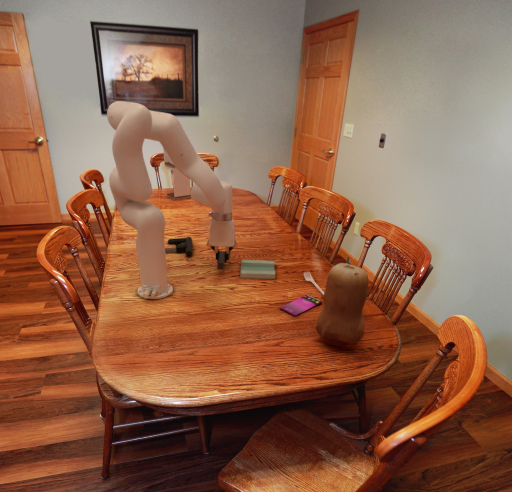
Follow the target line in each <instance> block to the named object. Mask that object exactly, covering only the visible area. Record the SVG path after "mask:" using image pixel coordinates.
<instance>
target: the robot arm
mask: <svg viewBox="0 0 512 492" xmlns="http://www.w3.org/2000/svg"><path fill="white" fill-rule="evenodd" d="M106 116H107V117H106V118H107V121H108V124H109V126H111V128H112V129H113V130H114V131H115V132H114V135H113V139H112V143H111V149H112V156H113V160H114V163H115V167H114V168H113V169H112V170H111V172H110V174H109V178H108V182H109V183H108V184H109V189H110V192H111V194H112V198H113V200H114V203H115V206H116V209H117V211H118V214H119V216H120V218H121V220H122V221H123V222H124V223H125V224H126V225H128V226H129V227H131V228H133V229H134V230H136V239H135V249H136V255H137V264H138V270H139V277H140V286H139V287H138V288H137V295H138V296H139V297H141V298H143V299H146V300H161V299H165V298H167V297H169V296H171V295H172V294H173V292H174V288H173V286H172V285H171V284H170V283H169V280H168V279H169V277H168V267H167V256H166V255H167V254H166V253H165V248H166V246H165V231H166V217H165V215H164V213H163V211H162V210H161V209H160V208H159V207H158V206H156V205H154V204H152V203H149V202H147V201H148V200H149V199H150V198H151V197H152V194H153V186H152V182H151V179H150V175H149V172H148V169H147V166H146V161H145V158H144V154H143V145H144V142H145V139H146V140H150V141H154V142H159V144H160V146H161V147H162V149H163V148H164V150H165V151H166V153H167V154H168V156H169V158H170V159H171V161H172V163H173V164H174V166H175V167H176V169H177V170H178V171H180V172H181V173H182V174H183V175H185V176H186V177H188V178H189V179H190V181H192V182H193V183H194V185H192V187H191V188H190V194H191V198H190V199H192V201H193V202H194V203H196V204H198V205H201V206H204V207H207V208H210V209H212V211H210V212H208V217H211V219H210V221H209V225H208V227H209V228H208V240H207V242H206V244H205V246H206V247H208V248H210V249H211V250H212V251H213V252H214V253H215V260H216V263H217V262H218V258H219V254H220V251H221V250H219V247H221V248H225V250H224V251H225V264H227V262H228V261H229V260H228V253H229V252H230V253H231V252H232V251H233V250H234V249H237V248H238V247H239V245H238V242H237V240H236V227H235V221H234V219H233V184H232V183H231V182H229V181H221V180H220V179H219V177H218V176H217V174H216V173H215V172H214V171H213V169H212V168H211V167H210V166H209V165H208V164H207V163H206V162H205V161H204V160H203V158H201V156H199V155H198V153H197V151H196V149H195V147H194V145H193V144H192V142H191V140H190V139H189V137H188V135H187V133H186V131H185V129H184V128H183V126H182V124H181V122H180V120H179V119H178V117H176V116H175V115H173V114H172V113H168V112H162V111H156V110H150V109H148V107H146V106H145V105H144V104H141V103H138V102H132V101H123V100H117V101H114V102H112V103H110V105H109V106H108V108H107V110H106Z"/></svg>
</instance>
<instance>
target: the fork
mask: <svg viewBox="0 0 512 492" xmlns="http://www.w3.org/2000/svg"><path fill="white" fill-rule="evenodd" d="M303 276H304V279H305V282H311V283H312V285H313V286H314V287H315V288H316V289H317V290H318V291H319V292H320V293H321V295H322V296H323V295H324V293H325V291H323V289H322V288H321V287H320V285H319V284H317V283H316V281H315V279H314V278H313V276H312V274H311V272H310V271H304V272H303Z"/></svg>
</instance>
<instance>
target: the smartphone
mask: <svg viewBox="0 0 512 492" xmlns="http://www.w3.org/2000/svg"><path fill="white" fill-rule="evenodd" d="M321 303H323V300H321V299H319V298H317V297H314V296H313V295H311V294H308V293H307V294H305V295H303V296H300V297H299V298H297V299H295V300H293V301H290V302H288V303H286V304H284V305H281V306H280V307H279V309H280V310H282V311H284V312H286V313H288V314H290V315H292V316H293V317H297V316H298V315H300V314H302V313H304V312H307V311H308V310H310V309H312V308H314V307H316V306H318V305H320V304H321Z"/></svg>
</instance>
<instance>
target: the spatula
mask: <svg viewBox="0 0 512 492" xmlns="http://www.w3.org/2000/svg"><path fill="white" fill-rule="evenodd" d="M219 251H220V254H219V258H218V262H217V261H216V267H217V269H216V270H217V271H219V270H220V271H225V270H224V268H225V264H226V263H225V251H226V250H224V251H223V250H219ZM230 257H231V251H230V252H229V253H228V260H227V261H229V260H230V259H231V258H230Z"/></svg>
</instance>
